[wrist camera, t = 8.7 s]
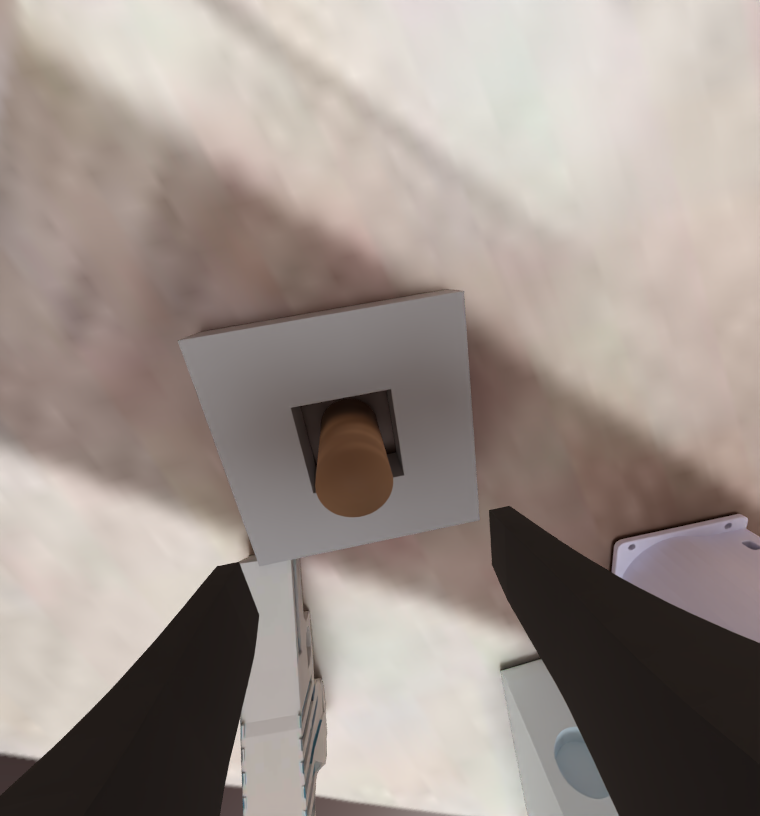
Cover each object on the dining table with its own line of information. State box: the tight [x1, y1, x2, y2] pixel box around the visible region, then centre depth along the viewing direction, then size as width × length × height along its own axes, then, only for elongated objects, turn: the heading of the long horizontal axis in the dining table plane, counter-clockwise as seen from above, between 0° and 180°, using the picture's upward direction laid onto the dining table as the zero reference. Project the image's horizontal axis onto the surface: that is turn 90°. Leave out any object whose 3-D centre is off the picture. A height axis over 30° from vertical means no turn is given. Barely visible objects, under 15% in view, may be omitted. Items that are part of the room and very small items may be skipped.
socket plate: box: [178, 289, 480, 566], centre depth 18 cm, size 12×12×2 cm
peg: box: [315, 399, 393, 517], centre depth 16 cm, size 3×3×6 cm
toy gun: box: [239, 555, 327, 816], centre depth 22 cm, size 3×14×10 cm
